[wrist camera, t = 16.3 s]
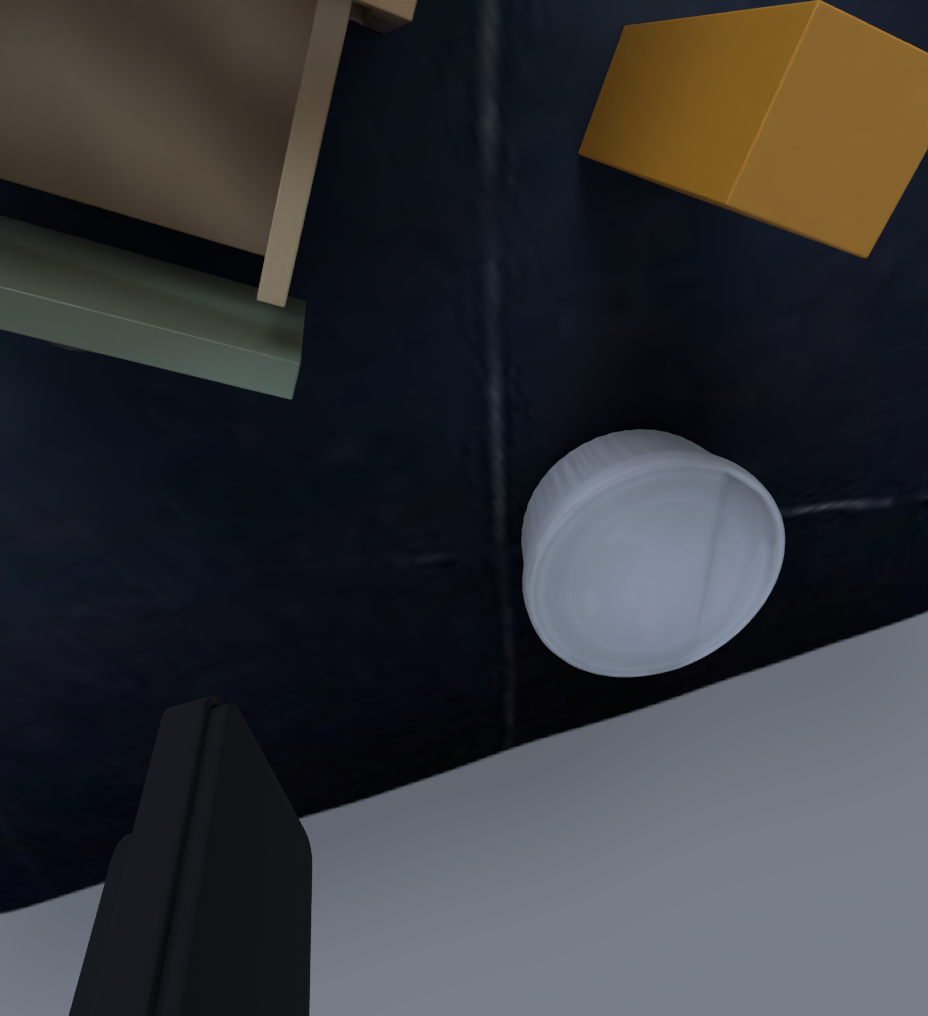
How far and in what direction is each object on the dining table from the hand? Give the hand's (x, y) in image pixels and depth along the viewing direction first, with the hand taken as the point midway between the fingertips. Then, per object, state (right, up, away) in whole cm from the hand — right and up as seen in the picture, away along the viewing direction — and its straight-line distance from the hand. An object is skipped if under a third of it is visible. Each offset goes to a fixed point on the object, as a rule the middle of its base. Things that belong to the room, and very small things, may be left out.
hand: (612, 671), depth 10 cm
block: (+5, +16, +18) cm, 25 cm away
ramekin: (+5, +2, +27) cm, 27 cm away
